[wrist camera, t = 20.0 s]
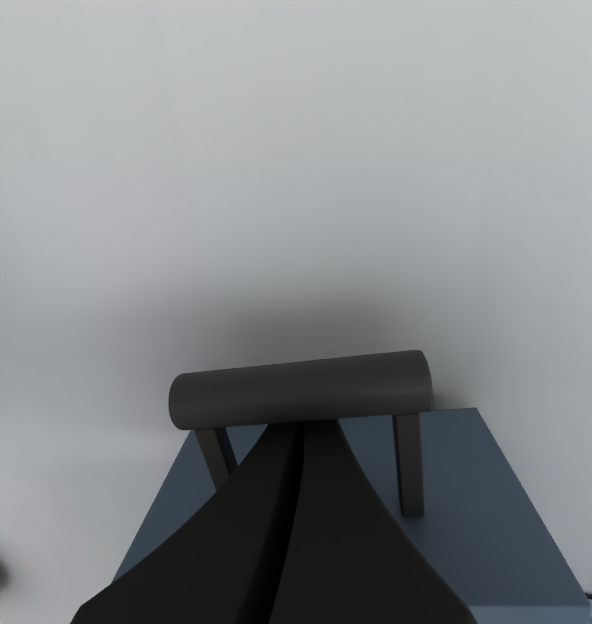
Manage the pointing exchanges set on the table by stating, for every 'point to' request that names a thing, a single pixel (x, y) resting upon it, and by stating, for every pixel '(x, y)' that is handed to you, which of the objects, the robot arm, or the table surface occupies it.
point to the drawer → (381, 474)
